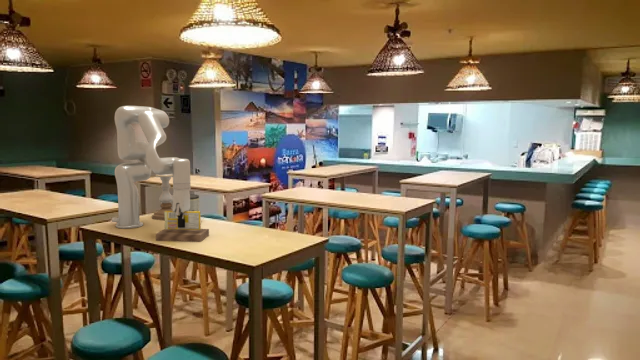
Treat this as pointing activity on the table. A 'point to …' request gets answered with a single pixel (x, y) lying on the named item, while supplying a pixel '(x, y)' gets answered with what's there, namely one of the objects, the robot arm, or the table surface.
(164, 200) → the candle holder
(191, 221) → the candy box
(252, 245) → the table surface
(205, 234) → the walnut plinth
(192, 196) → the coffee can
